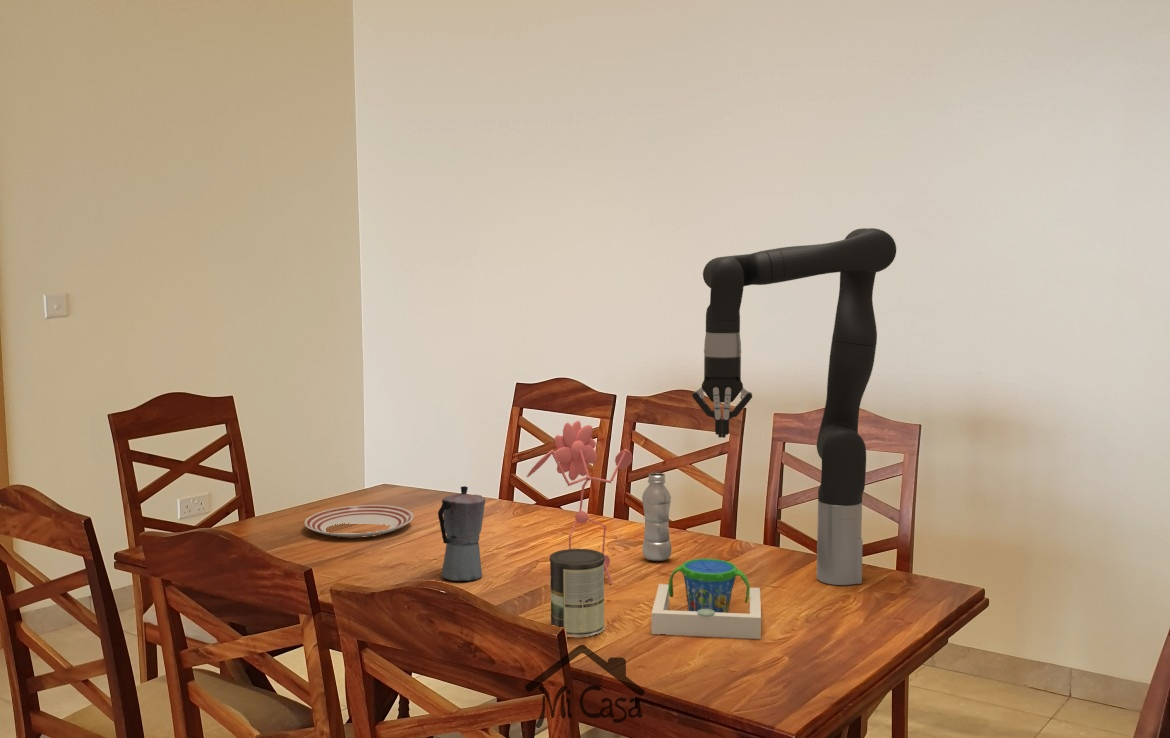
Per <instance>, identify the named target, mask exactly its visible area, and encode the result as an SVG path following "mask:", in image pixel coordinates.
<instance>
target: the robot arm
mask: <svg viewBox="0 0 1170 738" xmlns="http://www.w3.org/2000/svg"><path fill="white" fill-rule="evenodd" d="M896 255H897V244H896V242H895V239H894V238H893V237H892V236H891V234H889V233H888V232H887V231H884V230H883V229H880V228H874V227H872V228H871V227H870V228H869V227H868V228H867V227H866V228H858V229H854V230H852V231H850V232H849V233H848V234H847V235H846V236H845V238H844V239H842V240H838V241H832V242H828V243H819V244H806V245H794V246H793V245H792V246H785V247H778V248H772V249H771V248H770V249H764V250H760V251H756V252H753V253H746V254H737V255H736V254H735V255H726V256H720V257H719V256H718V257H715V258H713V259H710V260H709V261H708V262H707V263H706V264H705V266H704V268H703V269H702V270H703V271H702V277H703V281H704V283H705V284H706V286H707V287H708V288H709V289H710V299H709V301H710V302H709V305H708V306H707V308H706V312H705V338H704V347H703V348H704V349H703V356H704V357H703V358H704V362H703V363H704V364H703V368H704V371H703V373H704V374H703V375H704V376H703V381H702V384H701V387H700V388H699V389H697V390H695V391H693V392H692V396H691V397H692V398H693V399H694V401H695V402H696V404H698V406H699V408H700V409H701V410H702V411H703V412H704V414H705V415H706V416H707V417H711V418H713V419H714V423H715V425H714V427H715V428H714V429H715V430H714V432H715V435H718V438H726V436H728V435H729V433H730V419H732V418H736V417H738V416H739V414H740V413H741V412H742V410H744V408H745V407H746V406H747V405H748V404H749V402H750V401H751V399H752V398H753V393H752V392H750V391H748V390H747V389H745V388H744V384H743V382H742V379H741V375H742V372H741V371H742V370H741V369H742V366H741V365H742V343H741V342H742V341H741V340H742V339H741V333H740V332H741V314H740V313H741V312H740V310H741V305H742V302H743V301H742V300H743V294H744V293H743V292H744V288H745V287H747V286H752V285H753V286H754V285H755V286H763V285H765V286H766V285H773V284H778V283H785V282H789V281H795V280H799V279H804V278H810V277H815V276H820V275H827V274H834V273H835V274H836V273H839V292H838V299H837V305H836V313H835V318H834V325H833V331H832V332H833V333H832V337H831V345H830V353H829V362H828V363H829V364H828V372H827V373H828V374H827V383H826V384H827V386H826V400H825V405H824V406H825V407H824V410H823V415H822V419H821V422H820V426H819V427H820V428H819V430H818V434H817V438H816V450H817V451H816V452H817V454H818V456H819V458H820V460H821V473H820V474H821V476H820V478H821V479H820V485H819V487H818V490H817V527H816V528H817V529H816V530H817V531H816V532H817V536H816V537H817V538H816V544H817V545H816V579H817V580H818V581H820V582H821V583H824V584H828V585H832V586H833V585H834V586H853V585H858V584H859V585H861V584H862V583H863V582H862V581H863V544H864V543H863V538H862V527H863V524H862V522H863V519H862V518H863V494H864V491H865V486H866V474H867V473H866V472H867V471H866V469H867V468H866V467H867V448H866V447H867V446H866V444H865V441H864V439H863V437H862V436H861V435H860V434H859V419H860V418H859V416H860V407H861V402H862V399H863V396H864V394H865V391H866V388H867V386H868V384H869V381H870V379H871V375H872V372H873V368H874V365H875V358H876V357H875V356H876V351H877V349H876V348H877V344H878V343H877V342H878V341H877V340H878V331H877V329H878V328H877V323H876V316H875V312H874V303H873V292H874V286H875V279H876V275H877V273H880V272H881V271H884V270H886V269H887V268H888V267H890V265H892V264H893V262H894V261H895V258H896ZM704 393H705V394H706V396H707V397H708V399H709V400H710V401H711V402H712V403H713V408H714V410H713V409H712V408H711V407H710V406H709V404H707V402H706V401H705V399H704V398H705V394H704ZM740 393H741V395H740ZM738 395H739V398H740V401H739V403H737V404H736V406H735V407H734V408H733V409H732V410H731V403H733V402H734V401H735V400H736V398H738ZM721 403H723V413H722V411H721V410H722V409H721V408H722V407H721Z"/></svg>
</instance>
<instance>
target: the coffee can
mask: <svg viewBox="0 0 1170 738" xmlns="http://www.w3.org/2000/svg"><path fill="white" fill-rule="evenodd" d="M604 555H605V553H604V554H602V551H601V552H600V551H598V550H595V549H588V548H571V549H569V548H568V549H562V550H559V551H554V552H552V553H551V554H550V555H549V562H550V568H549V569H550V574H551V576H550V578H549V579H550V626H551V625H555V626H558V627H563V628H564V629H565V630H566V633H567V637H566V638H567V639H568V634H569V635H570V636H574V637H584V636H592V635H595V634H598V635H600V634H602V633H603V632H604V631H603V630H605V628H606V627H605V571H604V560H605V556H604ZM601 632H602V633H601ZM599 633H600V634H599ZM592 637H593V636H592Z"/></svg>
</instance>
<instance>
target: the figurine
mask: <svg viewBox="0 0 1170 738" xmlns="http://www.w3.org/2000/svg"><path fill="white" fill-rule="evenodd" d="M593 430H594V429H593V426H592V425H590V424H588V425H583V427H582V424H581V421H580V420H576V421H574V422H573V423H572V424H570V423H569V422H565V423H564V426H563V429H562V435H559V434H556V435H555V436H554V445H555V448H556V450H554V449H551V450H550V451H548V452H547V453H546V454H545V455H543V456H542V457H541V458H540V459H539V460H537V462H536V463H535V464H534V465H533V467H532V468H531V469H530V470H529V472H528V474H527V475H526V477H527V478H529V477H530V476H531V475H533V474H534V473H535V472H537V471H538V470H539V469H540V468H541V467H542V466H543V464H544V463H546V462H547V461H548V460H549V458H550V457H551V456H552V457H553V458H554V461H555V463H556V465H557V467H556V472H557V474H561V475H562V477H563V479H564V480H565V483H566V484H567V486H568V487H570V486H573V485H575V484H578V483H580V482H584V483H583V484H582V486H581V493H580V499H579V500H580V501H579V502H580V503H579V509H578V510H579V511H577V512H576V514H575V515H574V518H575V519H574V520H575V521H574V523H573V526H572V529H571V530H570V532H569V535H568V549H572V548H571V546H572V545H571V544H572V539H571V538H572V537H571V536H572V534H573V532H574V530H575V527H576V525H577V523H578V524H580V525H583V524H585V523H587V522H588V521H589V522H591V523H594V524H597V525H599V526H602V527H603V535H602V536H603V537H602V550H601V553H602V554H604V556H605V560H604V572H606V575H607V579H608V582H609V584H610V585H613V584H614V583H613V580H612V577H611V575H610V571H609V565H610V562H611V558H610V557H609V555H608V554H605V544H606V543H605V542H606V529H607V527H606V525H605V524H604V523H601V522H598V521H596V520H593V519H591V518H589V515H588V513H587V512H586V511H584V510H582V507H583V501H584V500H583V499H584V495H585V487H586V485H587V483H588V482H590V481H591V480H594V481H598V482H602V483H603V482H604V483H609V484H612V482H613V481H614V478H615V477H616V474H617V473H618V471H619V470H621V471H624V470H625V469H626V468H628V467H629V466H630V465H632V462H633V454H632V452H631V451H630V450H628V449H627V448H624V449H623V450H621V451H619V452H618V453H617V455H616V456H615V458H614V462H615V466H616V467H615V469H614V472H613V473H612V476H611V477H610V479H609V480H608V479H603V478H599V477H593V476H591V475H590V474H589V470H588V465H589V464H592V465H593V464H596V463H597V462H598V456H597V452H596V451H595V447H596V445H597V442H596V441H595V439H593V437H592V434H593ZM544 465H545V464H544ZM565 473H568V477H569V479H570V480H571V482H569V479H568V478H567V476H566V474H565ZM579 476H580V477H583V478H579V479H577V478H578V477H579ZM584 476H585V477H584ZM576 479H577V480H576ZM544 577H545V578H547V577H551V574H547V575H545V576H544ZM544 577H541V578H539V579H537V580H535V581H534V583H533V584H532V586H534V585H535V584H536V583H537V582H538V581H540V580H542V579H545V578H544ZM630 577H631V578H632V579H635V577H633V576H630ZM630 577H629V578H630Z"/></svg>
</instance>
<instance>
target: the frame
mask: <svg viewBox="0 0 1170 738" xmlns="http://www.w3.org/2000/svg"><path fill="white" fill-rule="evenodd" d="M668 586H669V583H668V584H666V583H658V587H657V592H656V594H655V598H654V603H653V607H652V610H651V615H650V616H651V619H650V620H651V629H650V630H651V631H650V632H651V635H660V634H666V635H665V636H682V635H683V636H685V637H705V638H706V637H709V638H710V637H711V638H728V639H729V638H732V639H750V640H761V639H762V637H761V636H762V613H761V612H762V611H761V610H762V609H761V588H760V587H750V591H749V611H748V612H749V613H739V612H737V613H736V612H728V613H719V612H715V611H714V610H711V609H700V610H698V611H697V612H696V611H688V610H669V606H670V595H669V589H668Z"/></svg>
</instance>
